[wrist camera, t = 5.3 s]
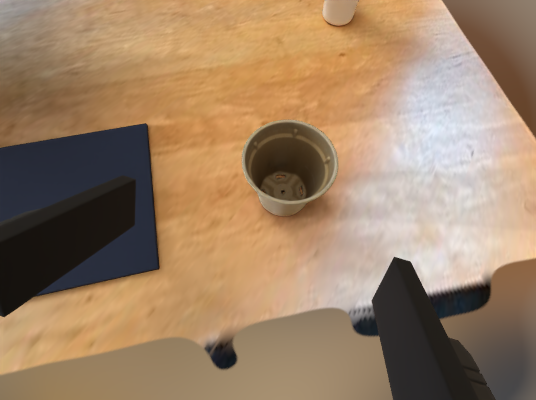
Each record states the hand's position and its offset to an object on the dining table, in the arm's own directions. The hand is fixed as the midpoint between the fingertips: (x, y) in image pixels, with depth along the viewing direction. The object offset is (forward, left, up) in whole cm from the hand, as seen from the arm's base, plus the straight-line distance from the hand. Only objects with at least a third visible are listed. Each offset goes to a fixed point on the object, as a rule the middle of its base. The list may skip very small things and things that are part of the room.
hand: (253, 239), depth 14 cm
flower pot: (-9, +5, -19) cm, 22 cm away
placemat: (-13, -21, -18) cm, 31 cm away
